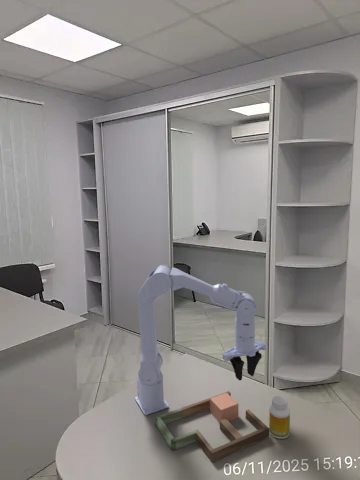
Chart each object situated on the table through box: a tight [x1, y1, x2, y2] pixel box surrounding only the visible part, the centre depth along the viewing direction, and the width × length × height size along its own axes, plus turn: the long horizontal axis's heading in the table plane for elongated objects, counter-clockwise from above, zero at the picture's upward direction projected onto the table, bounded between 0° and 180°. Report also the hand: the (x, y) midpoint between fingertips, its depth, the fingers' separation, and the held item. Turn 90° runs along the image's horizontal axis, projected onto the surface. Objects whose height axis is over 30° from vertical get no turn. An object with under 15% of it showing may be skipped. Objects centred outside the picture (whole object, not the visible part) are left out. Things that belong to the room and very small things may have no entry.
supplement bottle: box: [268, 395, 291, 440], centre depth 95 cm, size 5×5×10 cm
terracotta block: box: [209, 392, 239, 423], centre depth 103 cm, size 6×6×4 cm
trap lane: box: [155, 391, 270, 463], centre depth 97 cm, size 19×25×2 cm
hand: (244, 376), depth 105 cm, fingers open, 4 cm apart
